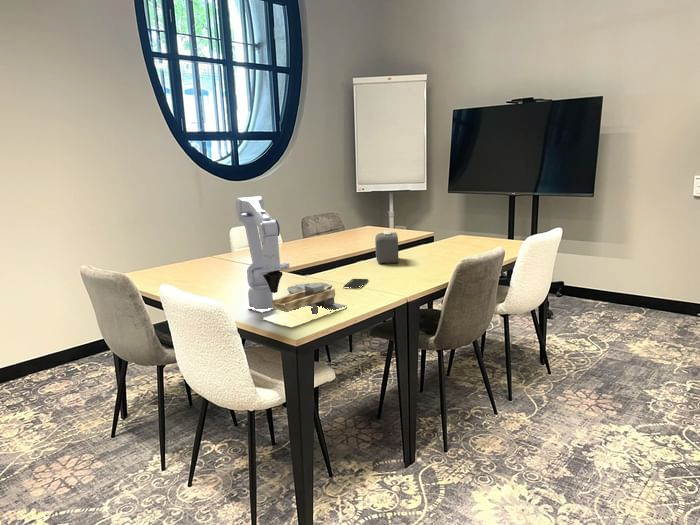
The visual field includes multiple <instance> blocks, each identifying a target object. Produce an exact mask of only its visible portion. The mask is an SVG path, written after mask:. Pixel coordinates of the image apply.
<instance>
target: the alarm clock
mask: <svg viewBox="0 0 700 525" xmlns="http://www.w3.org/2000/svg"><path fill="white" fill-rule="evenodd" d="M374 239H375V258H376V261H377V263H379V264H382V263H385V264H399V236H398V233H397V232H391V231H390V230H384V231H383V232H380V233H377V234H376V235H375V238H374Z"/></svg>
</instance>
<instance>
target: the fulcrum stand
mask: <svg viewBox="0 0 700 525" xmlns="http://www.w3.org/2000/svg"><path fill="white" fill-rule="evenodd" d="M317 306H318V305H317ZM345 306H347V305H346V304H341V303H338V302H337V303H336V302H334V304H333V305H330V306H327V307H324V308H325V309H327V308H328V309H329V310H330V309H331V310H332V309H333V310H336V309H339V308H342V307H345ZM319 307H320V306H319ZM322 308H323V306H322ZM298 309H299V308H298ZM328 309H327V310H328ZM295 310H296V309H295ZM311 311H312V314H317V313H318V307H316V308H315V307H313V308H311ZM330 312H331V311H330Z"/></svg>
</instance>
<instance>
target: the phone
mask: <svg viewBox="0 0 700 525" xmlns="http://www.w3.org/2000/svg"><path fill="white" fill-rule="evenodd" d="M367 281H368V282H369V279H368V278H352V279H351V280H349V281H348V282H347V283H346V284H344V285H343V288H344V287H349V288H350V287H351V288H360V287H361V286H362V285H364V284H365V283H366V282H367ZM368 282H367V283H368ZM367 283H366V284H367ZM366 284H365V285H366ZM365 285H364V286H365ZM359 286H360V287H359Z"/></svg>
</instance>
